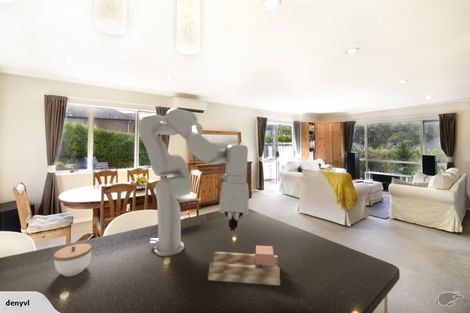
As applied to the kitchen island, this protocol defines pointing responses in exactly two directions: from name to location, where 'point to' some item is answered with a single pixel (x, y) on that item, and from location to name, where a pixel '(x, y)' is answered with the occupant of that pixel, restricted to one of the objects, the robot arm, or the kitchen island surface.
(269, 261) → the block
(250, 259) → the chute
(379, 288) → the kitchen island surface
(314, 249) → the kitchen island surface
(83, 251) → the lidded jar
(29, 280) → the kitchen island surface
